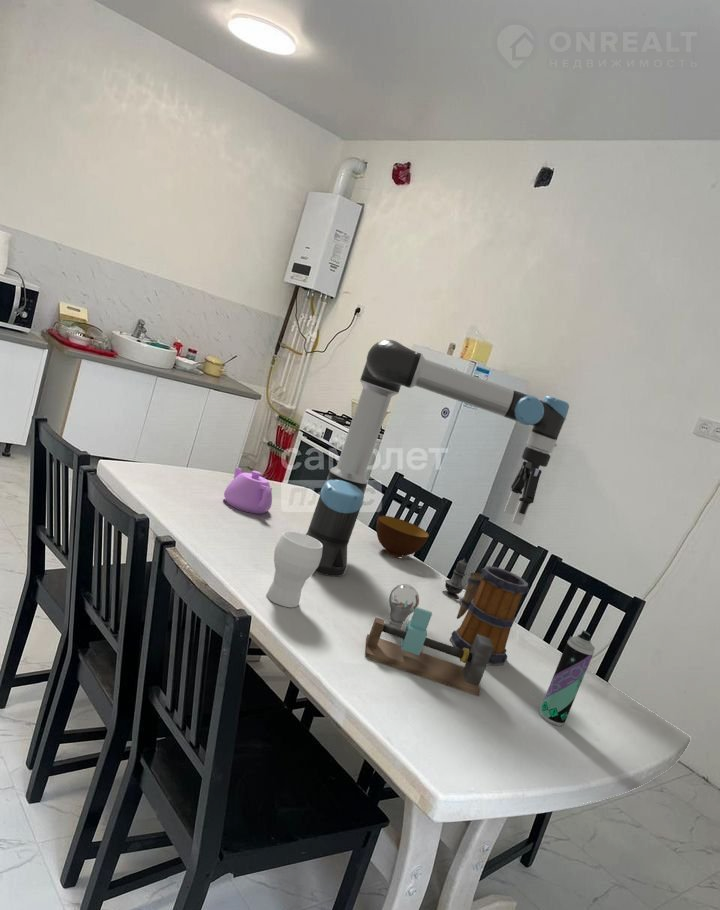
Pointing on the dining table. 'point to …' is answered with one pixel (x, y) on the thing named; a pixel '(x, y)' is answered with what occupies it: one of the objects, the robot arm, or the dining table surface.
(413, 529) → the bowl
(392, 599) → the light bulb
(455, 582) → the salt shaker
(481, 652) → the wooden axle stand
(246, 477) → the teapot
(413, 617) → the sleeve
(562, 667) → the spray can
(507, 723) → the dining table surface
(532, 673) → the dining table surface
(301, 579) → the cup
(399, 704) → the dining table surface
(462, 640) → the mug
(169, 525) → the dining table surface
